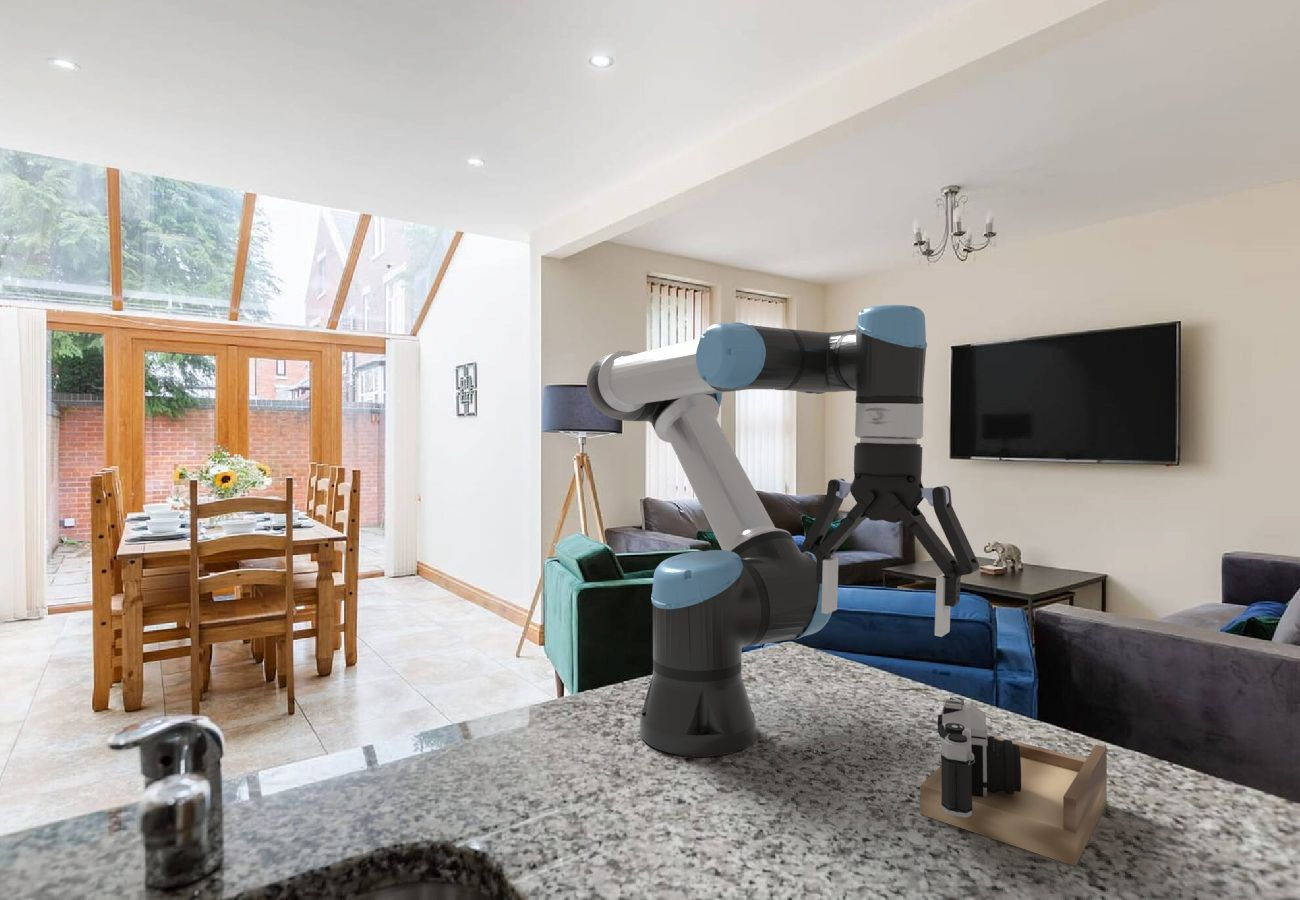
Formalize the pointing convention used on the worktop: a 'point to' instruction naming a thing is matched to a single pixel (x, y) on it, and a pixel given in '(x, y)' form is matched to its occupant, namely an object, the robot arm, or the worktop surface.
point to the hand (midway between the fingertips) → (882, 622)
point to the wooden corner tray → (1036, 803)
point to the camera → (973, 758)
